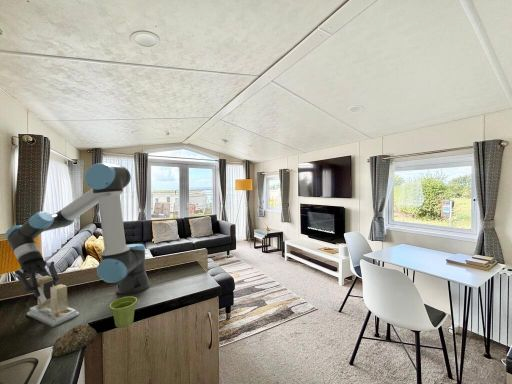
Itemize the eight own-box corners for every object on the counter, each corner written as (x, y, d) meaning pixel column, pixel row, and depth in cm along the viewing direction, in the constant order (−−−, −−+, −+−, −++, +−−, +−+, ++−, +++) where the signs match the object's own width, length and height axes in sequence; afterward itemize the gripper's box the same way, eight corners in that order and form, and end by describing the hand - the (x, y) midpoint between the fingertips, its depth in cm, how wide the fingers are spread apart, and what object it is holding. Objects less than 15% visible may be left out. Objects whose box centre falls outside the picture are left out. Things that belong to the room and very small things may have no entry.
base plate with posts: (26, 315, 96) (25, 284, 95) (52, 304, 104) (51, 276, 103) (53, 326, 88) (51, 293, 87) (79, 314, 96) (78, 284, 95)
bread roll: (99, 343, 79) (98, 329, 79) (51, 362, 71) (50, 346, 71) (94, 326, 88) (94, 313, 88) (52, 340, 80) (51, 327, 80)
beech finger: (37, 306, 97) (36, 278, 96) (47, 302, 100) (47, 275, 100) (44, 308, 95) (43, 280, 94) (54, 304, 98) (53, 277, 98)
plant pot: (107, 334, 83) (107, 311, 83) (112, 320, 92) (111, 299, 92) (136, 327, 87) (136, 305, 87) (138, 314, 96) (138, 294, 95)
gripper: (48, 255, 111) (69, 295, 105) (0, 266, 95) (21, 314, 89) (54, 245, 108) (76, 286, 102) (5, 256, 93) (27, 304, 87)
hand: (50, 299), depth 96 cm, fingers closed on beech finger, 3 cm apart
